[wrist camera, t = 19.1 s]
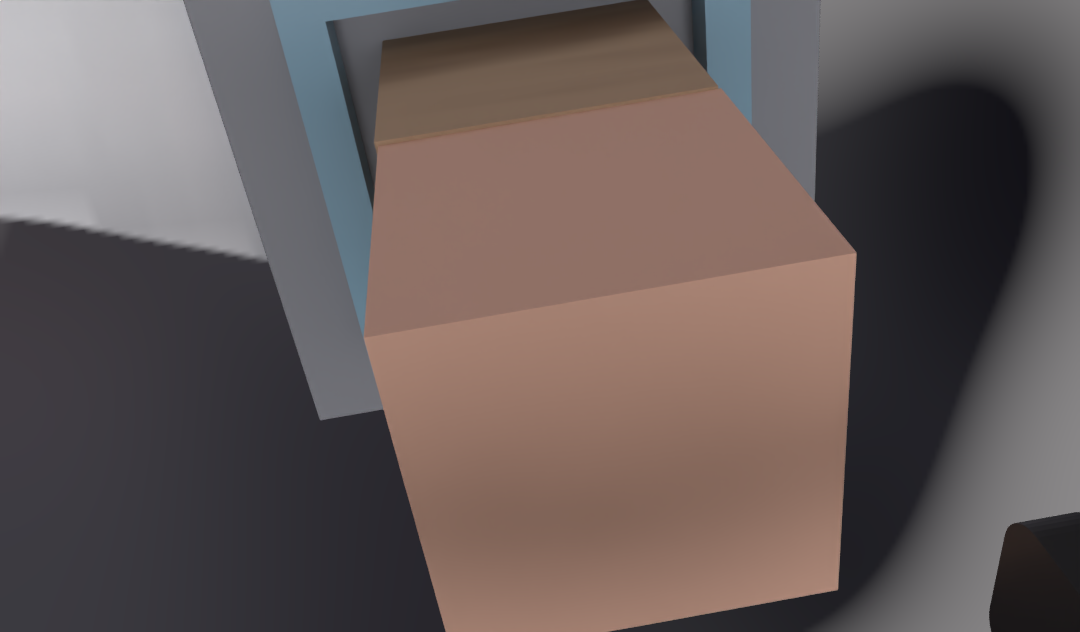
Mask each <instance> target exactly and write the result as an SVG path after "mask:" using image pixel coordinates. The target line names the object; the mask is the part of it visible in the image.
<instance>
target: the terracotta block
mask: <svg viewBox="0 0 1080 632" xmlns="http://www.w3.org/2000/svg"><path fill="white" fill-rule="evenodd" d="M855 271H856V252H855V250H854V249H853V248H852V247H851V246H850V244H849V243H848V242H847V241H846V239H845V238H844V237H843V236H842V235H841V233H840V232H839V231H838V230H837V229H836V227H835V226H834V225H833V224H832V223H831V221H830V220H829V219H828V217H827V216H826V215H825V214H824V213H823V212H822V210H821V209H820V208H819V207H818V205H817V204H816V203H815V202H814V200H813V199H812V198H811V197H810V196H809V194H808V193H807V192H806V191H805V189H804V188H803V187H802V186H801V185H800V183H799V182H798V181H797V180H796V179H795V177H794V176H793V175H792V174H791V172H790V171H789V170H788V169H787V168H786V166H785V165H784V164H783V163H782V162H781V160H780V159H779V158H778V157H777V155H776V154H775V153H774V152H773V151H772V149H771V148H770V147H769V146H768V144H767V143H766V142H765V141H764V140H763V138H762V137H761V136H760V135H759V134H758V132H757V131H756V130H755V129H754V127H753V126H752V125H751V124H750V123H749V121H748V120H747V119H746V118H745V117H744V115H743V114H742V113H741V112H740V110H739V109H738V108H737V107H736V106H735V104H734V103H733V102H732V101H731V99H730V98H729V97H728V96H727V95H726V93H725V92H724V91H723V90H722V89H721V88H720V89H714V90H708V91H702V92H696V93H690V94H684V95H678V96H672V97H666V98H660V99H654V100H648V101H642V102H636V103H630V104H624V105H618V106H612V107H606V108H600V109H594V110H589V111H583V112H577V113H571V114H565V115H559V116H553V117H547V118H541V119H535V120H529V121H523V122H517V123H511V124H505V125H499V126H493V127H487V128H481V129H475V130H469V131H463V132H457V133H451V134H446V135H440V136H434V137H428V138H422V139H416V140H410V141H404V142H398V143H392V144H386V145H380V146H378V153H377V166H376V180H375V193H374V206H373V220H372V233H371V246H370V259H369V273H368V286H367V299H366V313H365V326H364V341H365V345H366V348H367V352H368V355H369V359H370V363H371V366H372V370H373V373H374V377H375V380H376V384H377V388H378V391H379V395H380V398H381V402H382V405H383V409H384V413H385V416H386V420H387V423H388V427H389V430H390V433H391V438H392V441H393V445H394V448H395V452H396V455H397V459H398V462H399V465H400V470H401V473H402V477H403V480H404V484H405V487H406V491H407V494H408V498H409V501H410V505H411V509H412V512H413V516H414V520H415V523H416V526H417V530H418V534H419V537H420V541H421V545H422V548H423V552H424V555H425V558H426V562H427V566H428V569H429V573H430V577H431V580H432V584H433V587H434V591H435V595H436V598H437V602H438V605H439V608H440V612H441V616H442V620H443V623H444V627H445V630H446V632H608V631H614V630H619V629H624V628H631V627H636V626H641V625H647V624H653V623H658V622H664V621H669V620H675V619H680V618H686V617H691V616H696V615H702V614H707V613H713V612H718V611H724V610H729V609H735V608H741V607H746V606H751V605H757V604H762V603H768V602H774V601H779V600H785V599H790V598H796V597H801V596H807V595H812V594H818V593H823V592H828V591H834V590H838V577H839V559H840V541H841V523H842V505H843V503H842V502H843V487H844V469H845V451H846V450H845V449H846V433H847V432H846V431H847V415H848V397H849V379H850V360H851V342H852V323H853V307H854V287H855Z"/></svg>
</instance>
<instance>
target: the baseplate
mask: <svg viewBox="0 0 1080 632" xmlns="http://www.w3.org/2000/svg"><path fill="white" fill-rule="evenodd" d="M183 1H184V4H185V7H186V10H187V13H188V16H189V19H190V23H191V26H192V29H193V32H194V35H195V38H196V41H197V44H198V47H199V50H200V53H201V56H202V59H203V62H204V65H205V69H206V72H207V75H208V78H209V81H210V84H211V87H212V90H213V93H214V96H215V99H216V102H217V105H218V108H219V112H220V115H221V118H222V121H223V124H224V127H225V130H226V133H227V136H228V139H229V142H230V145H231V148H232V151H233V154H234V158H235V161H236V164H237V167H238V170H239V173H240V176H241V179H242V182H243V185H244V188H245V191H246V194H247V197H248V200H249V204H250V207H251V210H252V213H253V216H254V219H255V222H256V225H257V228H258V231H259V234H260V237H261V240H262V243H263V246H264V250H265V253H266V256H267V259H268V262H269V265H270V268H271V271H272V274H273V277H274V280H275V283H276V286H277V289H278V292H279V296H280V299H281V302H282V305H283V308H284V311H285V314H286V317H287V320H288V323H289V326H290V329H291V332H292V335H293V338H294V342H295V345H296V348H297V351H298V354H299V357H300V359H301V363H302V366H303V369H304V372H305V375H306V378H307V381H308V385H309V387H310V391H311V394H312V397H313V400H314V403H315V406H316V409H317V412H318V415H319V418H320V420H324V419H330V418H336V417H341V416H347V415H353V414H359V413H365V412H370V411H376V410H381V409H383V405H382V402H381V398H380V395H379V391H378V388H377V384H376V380H375V377H374V373H373V370H372V366H371V363H370V359H369V355H368V352H367V348H366V345H365V341H364V326H365V313H366V299H367V286H368V273H369V259H370V246H371V233H372V220H373V206H374V193H375V180H376V166H377V153H376V148H375V144H374V137H375V125H376V113H377V101H378V90H379V78H380V66H381V54H382V43H383V41H385V40H391V39H397V38H403V37H410V36H416V35H422V34H428V33H434V32H441V31H447V30H453V29H459V28H466V27H472V26H478V25H484V24H491V23H497V22H503V21H509V20H515V19H522V18H528V17H534V16H540V15H547V14H553V13H559V12H565V11H572V10H578V9H584V8H590V7H596V6H603V5H609V4H615V3H621V2H628V1H634V0H183ZM648 1H649V2H650V3H651V5H652V6H653V7H654V8H655V9H656V11H657V12H658V13H659V14H660V16H661V17H662V18H663V19H664V20H665V22H666V23H667V24H668V25H669V27H670V28H671V29H672V30H673V31H674V33H675V34H676V35H677V36H678V38H679V39H680V40H681V41H682V42H683V44H684V45H685V46H686V47H687V48H688V50H689V51H690V52H691V53H692V55H693V56H694V57H695V58H696V59H697V61H698V62H699V63H700V64H701V66H702V67H703V68H704V69H705V70H706V72H707V73H708V74H709V75H710V77H711V78H712V79H713V80H714V81H715V83H716V84H717V85H718V89H720V88H721V89H722V90H723V91H724V92H725V93H726V95H727V96H728V97H729V98H730V99H731V101H732V102H733V103H734V104H735V106H736V107H737V108H738V109H739V110H740V112H741V113H742V114H743V115H744V117H745V118H746V119H747V120H748V121H749V123H750V124H751V125H752V126H753V127H754V129H755V130H756V131H757V132H758V134H759V135H760V136H761V137H762V138H763V140H764V141H765V142H766V143H767V144H768V146H769V147H770V148H771V149H772V151H773V152H774V153H775V154H776V155H777V157H778V158H779V159H780V160H781V162H782V163H783V164H784V165H785V166H786V168H787V169H788V170H789V171H790V172H791V174H792V175H793V176H794V177H795V179H796V180H797V181H798V182H799V183H800V185H801V186H802V187H803V188H804V189H805V191H806V192H807V193H808V194H809V196H810V197H811V198H812V199H813V200H814V202H815V171H816V137H817V136H816V135H817V101H818V69H819V35H820V1H821V0H648Z"/></svg>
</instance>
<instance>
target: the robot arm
mask: <svg viewBox="0 0 1080 632" xmlns="http://www.w3.org/2000/svg"><path fill="white" fill-rule="evenodd" d="M989 620H990V627H991V632H1080V512H1074V513H1069V514H1063V515H1058V516H1053V517H1047V518H1042V519H1036V520H1030V521H1025V522H1019V523H1014V524H1012V525H1010V526H1009V527H1008V529H1007V531H1006V534H1005V537H1004V542H1003V547H1002V552H1001V556H1000V561H999V566H998V571H997V576H996V580H995V585H994V590H993V595H992V600H991V605H990V611H989Z"/></svg>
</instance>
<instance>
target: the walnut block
mask: <svg viewBox="0 0 1080 632" xmlns="http://www.w3.org/2000/svg"><path fill="white" fill-rule="evenodd" d="M714 89H718V85H717V84H716V83H715V81H714V80H713V79H712V78H711V77H710V75H709V74H708V73H707V72H706V70H705V69H704V68H703V67H702V66H701V64H700V63H699V62H698V61H697V59H696V58H695V57H694V56H693V55H692V53H691V52H690V51H689V50H688V48H687V47H686V46H685V45H684V44H683V42H682V41H681V40H680V39H679V38H678V36H677V35H676V34H675V33H674V31H673V30H672V29H671V28H670V27H669V25H668V24H667V23H666V22H665V20H664V19H663V18H662V17H661V16H660V14H659V13H658V12H657V11H656V9H655V8H654V7H653V6H652V5H651V3H650V2H649V1H648V0H634V1H628V2H621V3H615V4H609V5H603V6H596V7H590V8H584V9H578V10H572V11H565V12H559V13H553V14H547V15H540V16H534V17H528V18H522V19H515V20H509V21H503V22H497V23H491V24H484V25H478V26H472V27H466V28H459V29H453V30H447V31H441V32H434V33H428V34H422V35H416V36H410V37H403V38H397V39H391V40H385V41H383V43H382V54H381V66H380V78H379V90H378V101H377V113H376V125H375V137H374V144H375V148H376V153H378V146H380V145H386V144H392V143H398V142H404V141H410V140H416V139H422V138H428V137H434V136H440V135H446V134H451V133H457V132H463V131H469V130H475V129H481V128H487V127H493V126H499V125H505V124H511V123H517V122H523V121H529V120H535V119H541V118H547V117H553V116H559V115H565V114H571V113H577V112H583V111H589V110H594V109H600V108H606V107H612V106H618V105H624V104H630V103H636V102H642V101H648V100H654V99H660V98H666V97H672V96H678V95H684V94H690V93H696V92H702V91H708V90H714Z"/></svg>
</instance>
